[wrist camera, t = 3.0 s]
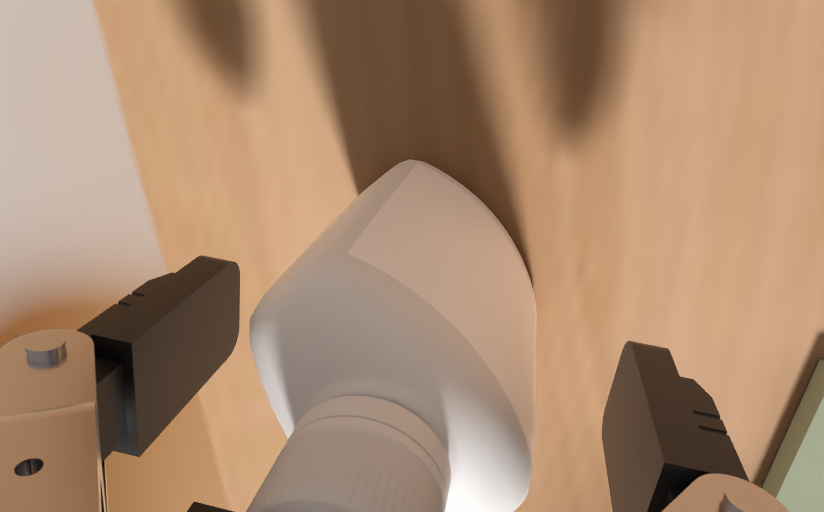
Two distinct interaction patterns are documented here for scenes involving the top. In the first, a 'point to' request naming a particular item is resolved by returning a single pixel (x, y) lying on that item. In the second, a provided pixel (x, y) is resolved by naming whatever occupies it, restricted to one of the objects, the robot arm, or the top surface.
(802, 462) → the rubber mat
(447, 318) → the eye dropper bottle
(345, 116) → the top surface
